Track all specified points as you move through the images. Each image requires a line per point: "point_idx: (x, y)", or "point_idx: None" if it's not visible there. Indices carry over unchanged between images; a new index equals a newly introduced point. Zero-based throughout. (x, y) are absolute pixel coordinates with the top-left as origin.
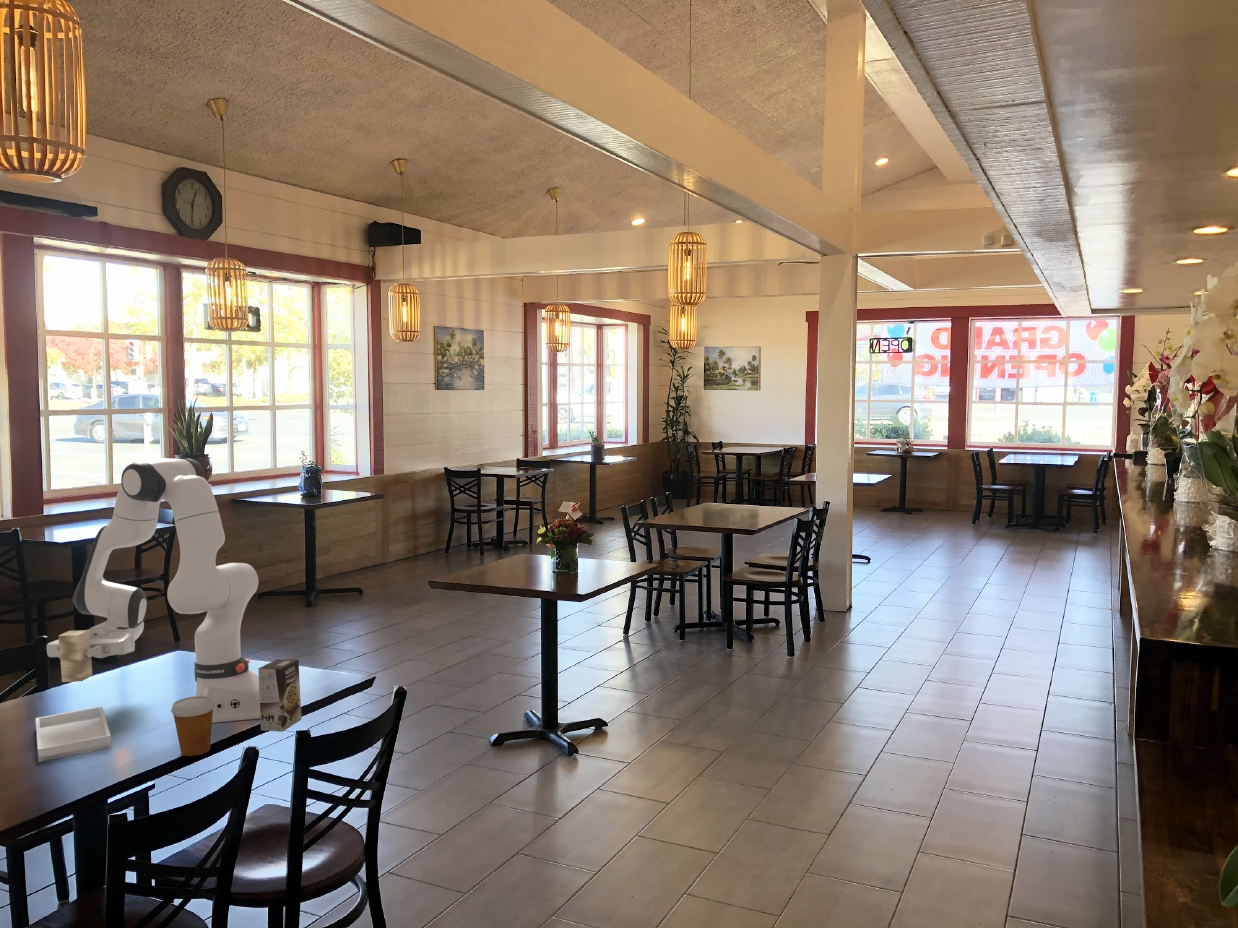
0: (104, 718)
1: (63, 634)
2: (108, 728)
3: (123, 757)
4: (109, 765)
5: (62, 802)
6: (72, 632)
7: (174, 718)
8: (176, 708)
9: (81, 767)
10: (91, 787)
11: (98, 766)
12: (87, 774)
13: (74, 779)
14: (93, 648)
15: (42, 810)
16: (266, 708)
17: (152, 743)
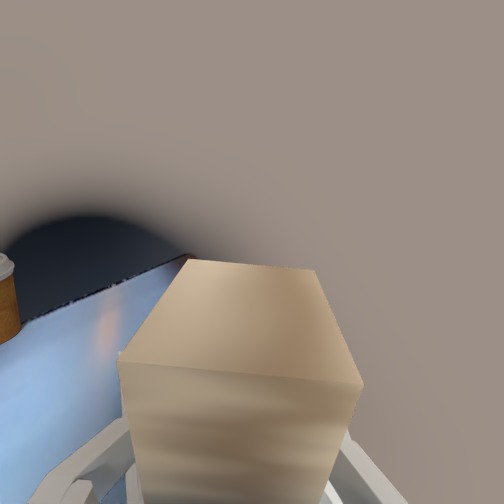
0: (129, 477)
1: (303, 283)
2: (120, 388)
3: (106, 331)
4: (126, 314)
5: (165, 266)
6: (270, 315)
7: (12, 278)
8: (6, 256)
9: None
10: (144, 279)
11: (140, 313)
12: (151, 299)
13: (163, 293)
14: (114, 424)
15: (178, 261)
16: None
17: (45, 375)
